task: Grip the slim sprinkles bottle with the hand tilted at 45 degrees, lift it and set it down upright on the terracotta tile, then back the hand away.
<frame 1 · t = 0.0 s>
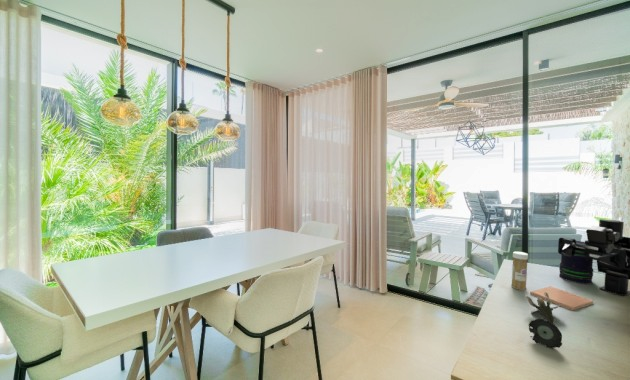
hand: (579, 254, 87), 17 cm above the counter, tool horizontal, fingers open, 9 cm apart
sprinkles bottle: (518, 288, 100), on the counter
terracotta tile: (560, 298, 91), on the counter
storage jar: (575, 279, 109), on the counter
artificial flower: (542, 327, 75), on the counter
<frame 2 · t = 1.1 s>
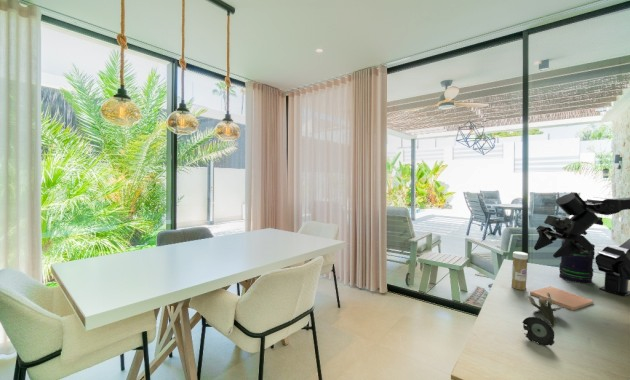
hand: (543, 252, 98), 14 cm above the counter, tool tilted 45°, fingers open, 9 cm apart
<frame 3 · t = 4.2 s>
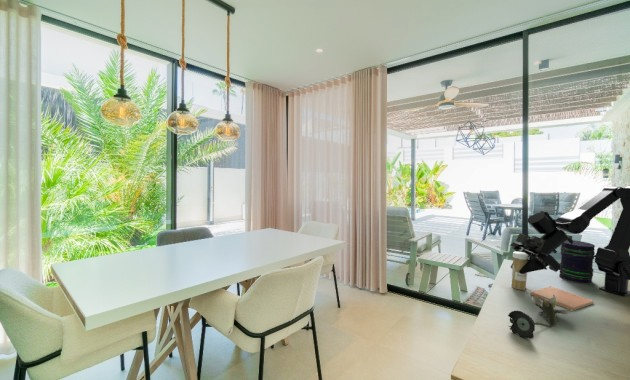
hand: (515, 270, 100), 7 cm above the counter, tool tilted 45°, fingers closed on sprinkles bottle, 4 cm apart
sprinkles bottle: (518, 288, 100), on the counter, touching gripper
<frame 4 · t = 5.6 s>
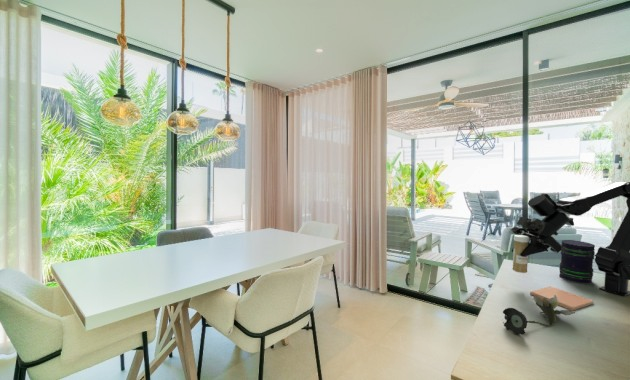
hand: (516, 253, 99), 13 cm above the counter, tool tilted 45°, fingers closed on sprinkles bottle, 4 cm apart
sprinkles bottle: (519, 271, 100), point 6 cm above the counter, touching gripper
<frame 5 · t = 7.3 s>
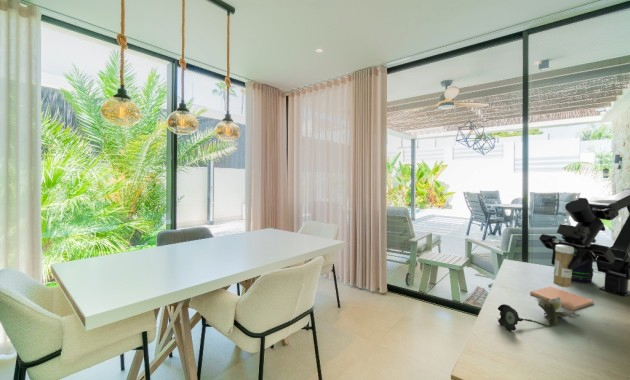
hand: (560, 266, 89), 12 cm above the counter, tool tilted 45°, fingers closed on sprinkles bottle, 4 cm apart
sprinkles bottle: (561, 285, 89), point 5 cm above the counter, touching gripper
when the fingers open (9 cm above the counter, at t = 8.3 s): sprinkles bottle drops 1 cm, resting on terracotta tile.
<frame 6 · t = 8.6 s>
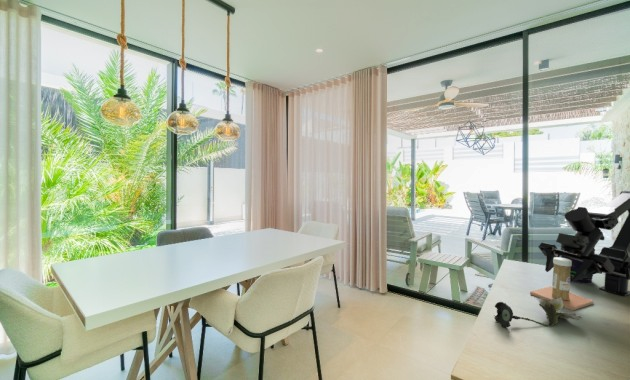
hand: (559, 275, 89), 9 cm above the counter, tool tilted 45°, fingers open, 8 cm apart
sprinkles bottle: (560, 298, 90), point 1 cm above the counter, touching terracotta tile
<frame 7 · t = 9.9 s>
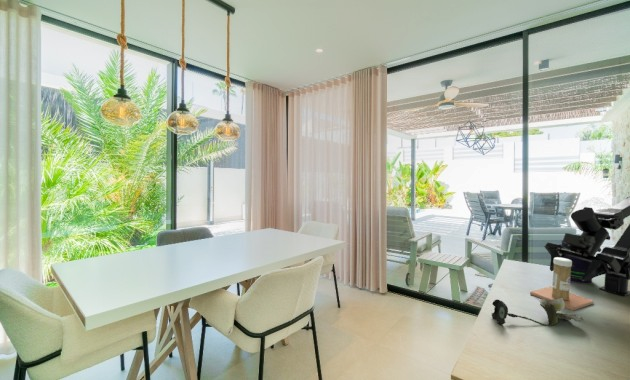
hand: (566, 275, 90), 9 cm above the counter, tool tilted 45°, fingers open, 9 cm apart
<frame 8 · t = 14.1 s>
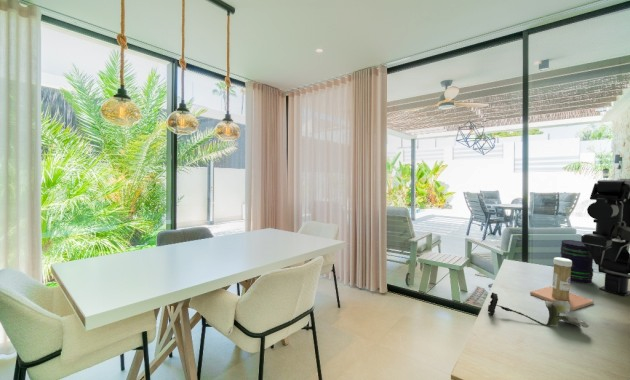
hand: (605, 263, 89), 13 cm above the counter, tool pointing down, fingers open, 9 cm apart
at the end: sprinkles bottle inside the target area on the terracotta tile (1.9 cm from its centre), point 0.8 cm above the terracotta tile's base; sprinkles bottle tilted 0°; the gripper is holding nothing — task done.
